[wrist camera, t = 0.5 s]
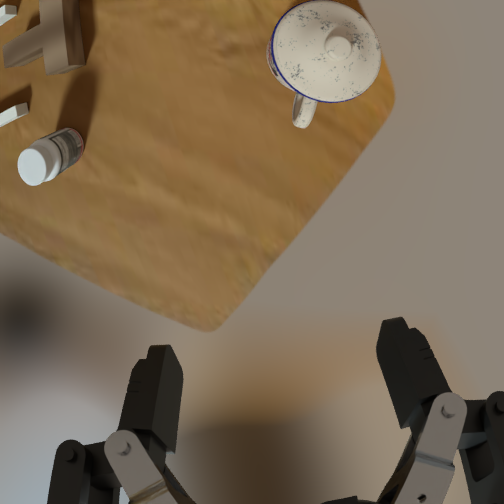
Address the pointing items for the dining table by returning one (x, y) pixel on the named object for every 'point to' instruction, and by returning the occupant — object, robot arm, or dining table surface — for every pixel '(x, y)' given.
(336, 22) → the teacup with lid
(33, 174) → the pill bottle
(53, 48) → the t block
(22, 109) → the pocket
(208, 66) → the dining table surface
